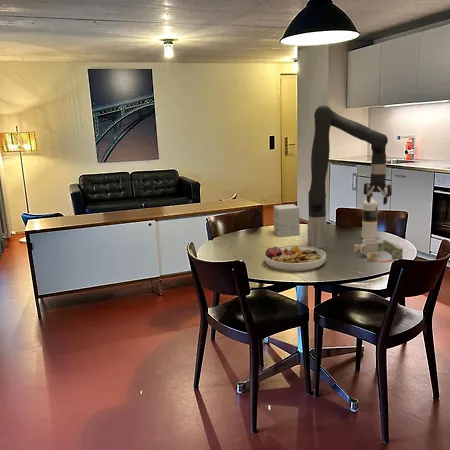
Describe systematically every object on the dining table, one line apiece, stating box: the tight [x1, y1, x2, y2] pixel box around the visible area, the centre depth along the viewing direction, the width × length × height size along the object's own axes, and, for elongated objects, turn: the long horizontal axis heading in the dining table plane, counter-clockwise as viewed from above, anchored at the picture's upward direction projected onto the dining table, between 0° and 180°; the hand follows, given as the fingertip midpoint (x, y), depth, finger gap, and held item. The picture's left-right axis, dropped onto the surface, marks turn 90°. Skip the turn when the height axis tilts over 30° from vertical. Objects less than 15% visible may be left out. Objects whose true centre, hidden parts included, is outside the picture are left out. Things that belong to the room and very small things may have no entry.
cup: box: [360, 238, 380, 257], centre depth 220 cm, size 11×8×8 cm
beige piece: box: [353, 239, 403, 263], centre depth 220 cm, size 18×17×5 cm
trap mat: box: [379, 258, 394, 263], centre depth 211 cm, size 7×2×1 cm, turn 97°
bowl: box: [263, 245, 327, 272], centre depth 216 cm, size 30×30×8 cm
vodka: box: [360, 186, 379, 240], centre depth 249 cm, size 9×9×30 cm
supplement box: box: [273, 203, 301, 238], centre depth 271 cm, size 13×13×18 cm
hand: (376, 203), depth 231 cm, fingers open, 8 cm apart
